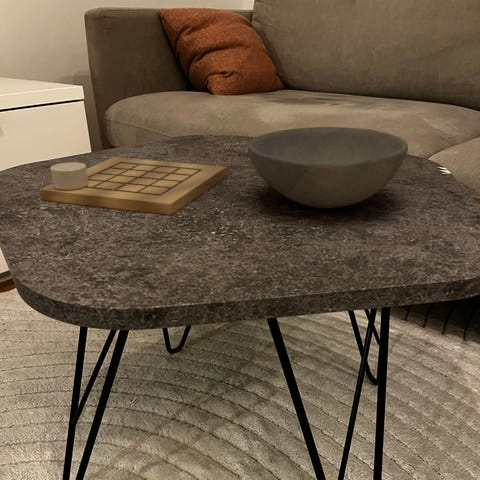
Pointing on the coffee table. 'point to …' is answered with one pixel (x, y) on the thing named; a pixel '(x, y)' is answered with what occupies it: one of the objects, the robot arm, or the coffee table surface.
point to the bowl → (327, 163)
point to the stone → (69, 175)
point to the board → (140, 185)
